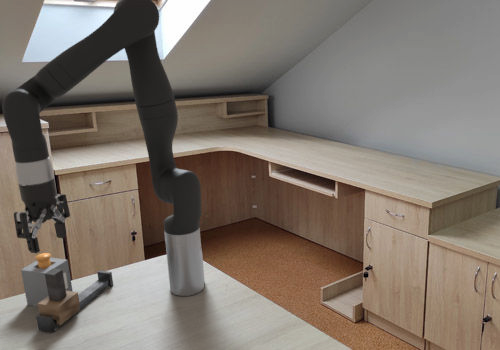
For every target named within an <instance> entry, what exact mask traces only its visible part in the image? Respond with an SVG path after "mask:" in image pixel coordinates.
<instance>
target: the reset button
mask: <svg viewBox="0 0 500 350" xmlns="http://www.w3.org/2000/svg"><path fill="white" fill-rule="evenodd" d="M50 258H52V255H51V253H50V252H44V253H40V254H37V255H36V256H35V261H38V267H39V268H42V269H46V268H48V267H49V266H51V262H50Z"/></svg>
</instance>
